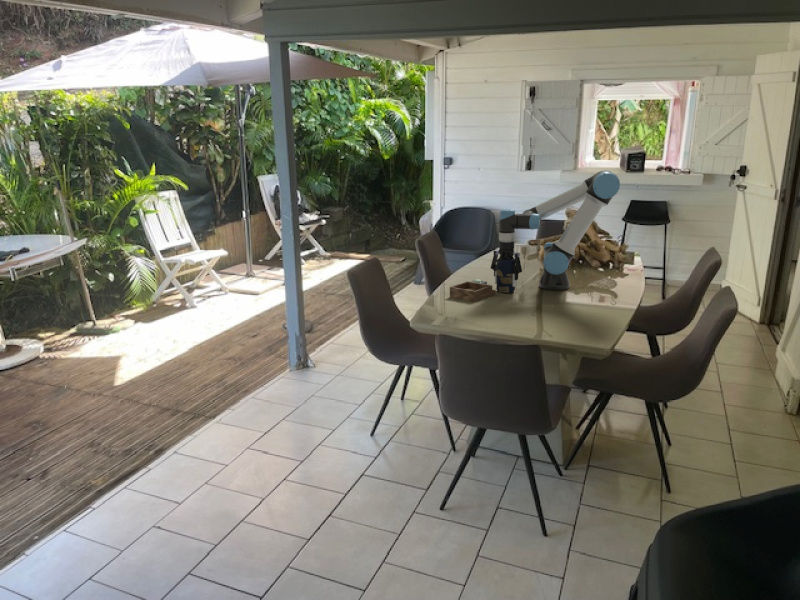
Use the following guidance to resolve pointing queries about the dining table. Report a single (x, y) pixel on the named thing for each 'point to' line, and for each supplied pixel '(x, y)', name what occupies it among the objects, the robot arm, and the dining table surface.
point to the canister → (505, 275)
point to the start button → (477, 281)
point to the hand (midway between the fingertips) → (505, 284)
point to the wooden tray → (471, 291)
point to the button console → (481, 282)
